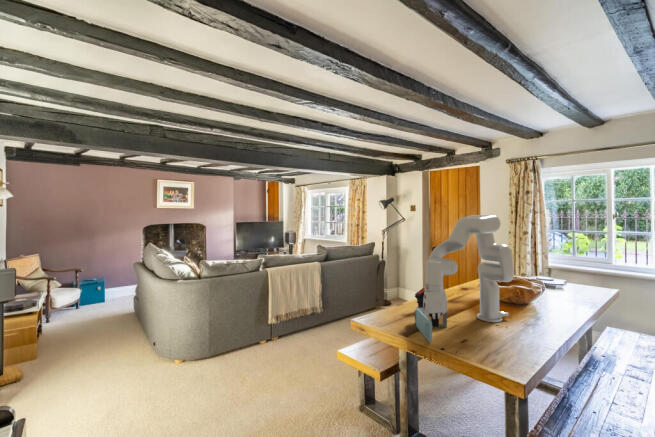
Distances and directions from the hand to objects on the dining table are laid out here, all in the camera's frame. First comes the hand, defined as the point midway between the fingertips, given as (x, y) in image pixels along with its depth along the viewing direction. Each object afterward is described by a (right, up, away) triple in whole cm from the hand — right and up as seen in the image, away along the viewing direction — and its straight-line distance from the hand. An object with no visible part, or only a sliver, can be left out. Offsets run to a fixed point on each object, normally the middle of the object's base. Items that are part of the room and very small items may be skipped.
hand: (435, 326), depth 141 cm
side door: (-4, -6, +8) cm, 11 cm away
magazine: (+9, -6, +42) cm, 43 cm away
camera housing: (+5, -6, +20) cm, 21 cm away
